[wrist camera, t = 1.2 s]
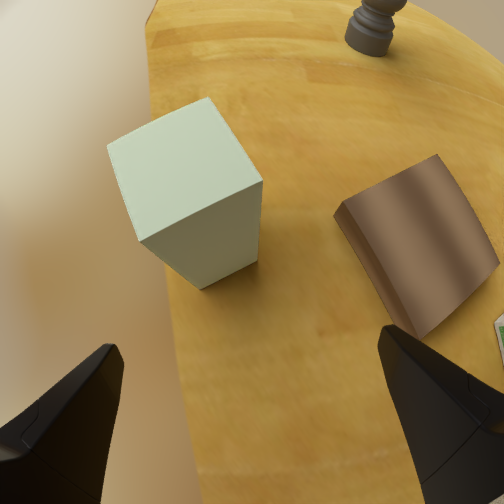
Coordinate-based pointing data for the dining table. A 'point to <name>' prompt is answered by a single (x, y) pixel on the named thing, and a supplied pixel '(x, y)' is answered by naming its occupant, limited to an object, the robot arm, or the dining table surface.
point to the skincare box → (500, 333)
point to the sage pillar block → (191, 192)
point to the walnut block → (418, 244)
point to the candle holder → (373, 26)
